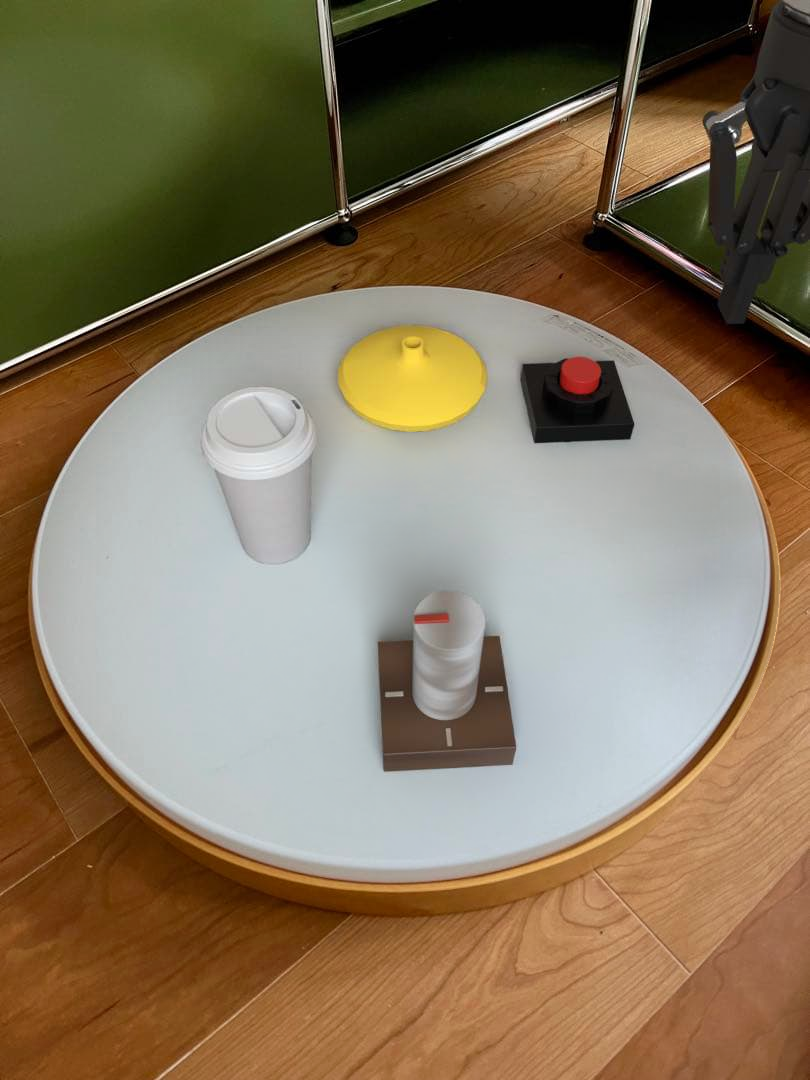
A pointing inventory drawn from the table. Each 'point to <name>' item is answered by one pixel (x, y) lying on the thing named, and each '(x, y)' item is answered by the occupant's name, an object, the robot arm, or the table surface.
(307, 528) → the coffee cup
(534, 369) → the black button base
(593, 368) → the button
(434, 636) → the tap knob
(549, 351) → the table surface
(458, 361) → the yellow funnel lid
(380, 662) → the panel
